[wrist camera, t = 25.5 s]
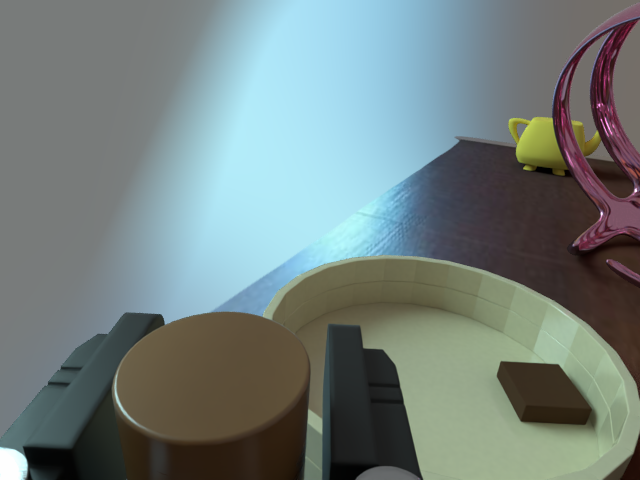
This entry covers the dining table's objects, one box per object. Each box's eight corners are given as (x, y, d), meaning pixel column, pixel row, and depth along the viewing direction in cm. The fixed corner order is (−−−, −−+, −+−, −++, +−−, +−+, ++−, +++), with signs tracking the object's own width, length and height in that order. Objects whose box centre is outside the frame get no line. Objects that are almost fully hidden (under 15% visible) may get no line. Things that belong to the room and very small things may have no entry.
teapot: (599, 171, 84) (617, 115, 79) (603, 184, 75) (624, 121, 70) (502, 157, 91) (514, 105, 87) (495, 167, 82) (509, 109, 78)
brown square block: (520, 422, 23) (526, 405, 23) (495, 375, 26) (500, 360, 26) (585, 425, 23) (593, 409, 23) (553, 379, 26) (559, 363, 26)
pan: (195, 501, 19) (188, 425, 17) (308, 288, 36) (310, 240, 34) (694, 644, 15) (754, 567, 13) (552, 331, 32) (570, 279, 30)
